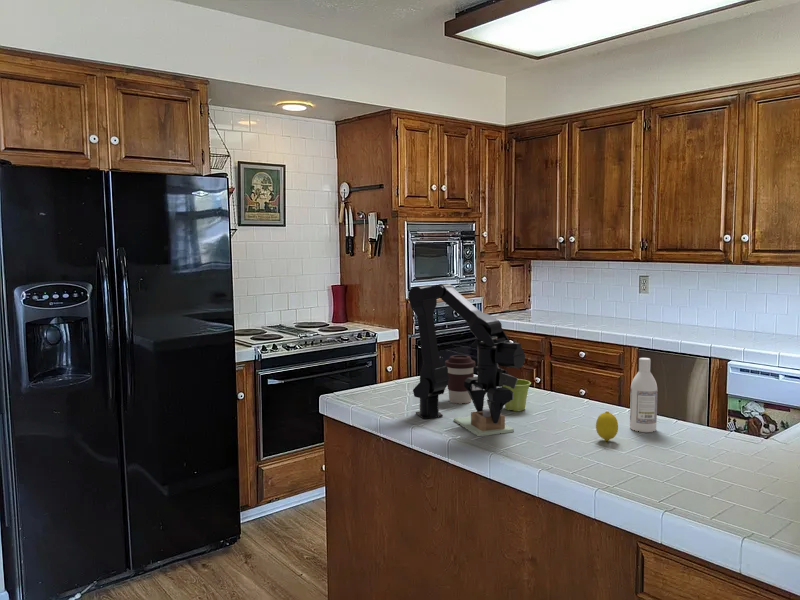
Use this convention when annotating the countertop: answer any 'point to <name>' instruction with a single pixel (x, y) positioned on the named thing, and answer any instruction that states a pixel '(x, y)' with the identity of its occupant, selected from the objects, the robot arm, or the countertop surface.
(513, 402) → the plant pot
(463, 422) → the keeper board
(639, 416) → the bath foam
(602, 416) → the lemon
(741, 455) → the countertop surface
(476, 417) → the link
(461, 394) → the coffee cup
